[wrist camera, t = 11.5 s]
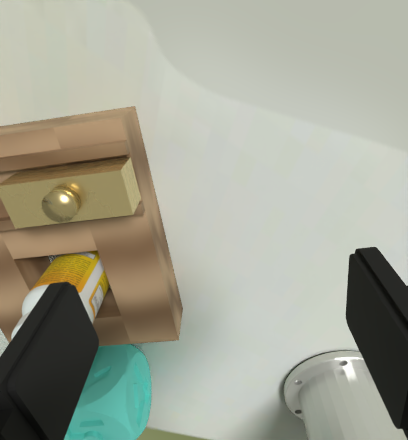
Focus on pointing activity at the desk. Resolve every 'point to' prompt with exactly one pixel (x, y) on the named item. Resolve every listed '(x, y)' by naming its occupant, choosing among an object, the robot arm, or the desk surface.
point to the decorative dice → (113, 396)
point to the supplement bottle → (71, 282)
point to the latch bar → (71, 193)
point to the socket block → (92, 229)
